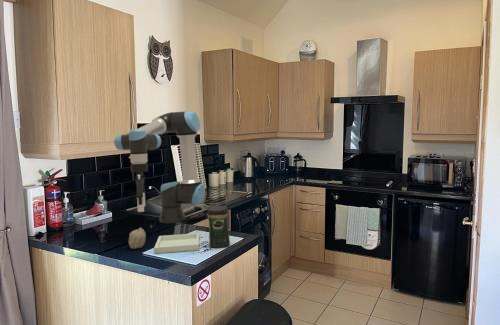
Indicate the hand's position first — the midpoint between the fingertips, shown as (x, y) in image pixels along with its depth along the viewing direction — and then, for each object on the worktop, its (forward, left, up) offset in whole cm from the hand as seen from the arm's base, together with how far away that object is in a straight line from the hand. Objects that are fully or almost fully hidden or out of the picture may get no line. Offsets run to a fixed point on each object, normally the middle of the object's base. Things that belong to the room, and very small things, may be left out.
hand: (141, 208), depth 178 cm
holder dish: (+2, +16, -18) cm, 24 cm away
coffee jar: (+6, +35, -18) cm, 40 cm away
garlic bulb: (0, -3, -18) cm, 19 cm away
